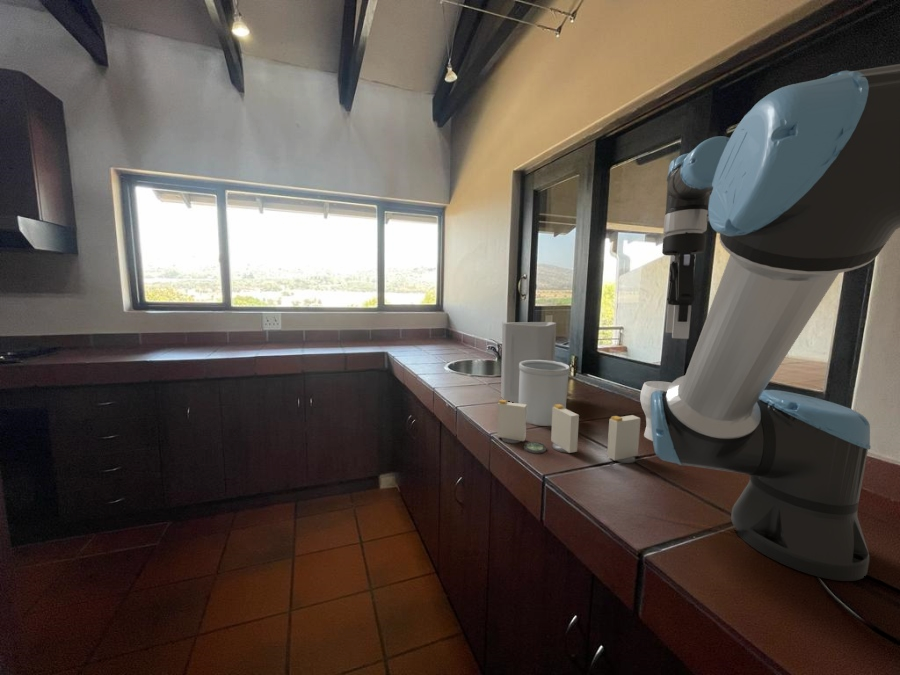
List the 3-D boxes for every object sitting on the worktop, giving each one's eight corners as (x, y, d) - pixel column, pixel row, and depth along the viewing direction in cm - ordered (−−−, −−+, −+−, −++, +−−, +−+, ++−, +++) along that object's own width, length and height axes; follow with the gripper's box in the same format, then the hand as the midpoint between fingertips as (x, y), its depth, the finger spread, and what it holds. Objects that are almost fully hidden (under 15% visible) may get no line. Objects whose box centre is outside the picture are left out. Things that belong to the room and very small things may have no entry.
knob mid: (564, 455, 81) (566, 414, 79) (546, 443, 87) (547, 405, 86) (582, 452, 83) (584, 411, 81) (563, 440, 89) (564, 402, 88)
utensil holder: (565, 414, 111) (568, 360, 109) (568, 432, 97) (571, 371, 95) (519, 410, 115) (520, 358, 113) (515, 426, 101) (517, 368, 99)
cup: (692, 451, 85) (697, 392, 83) (645, 447, 87) (649, 390, 85) (673, 434, 95) (678, 381, 93) (632, 431, 97) (635, 379, 95)
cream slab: (522, 445, 86) (524, 406, 85) (495, 440, 89) (496, 403, 88) (526, 437, 91) (527, 400, 90) (500, 433, 94) (501, 397, 92)
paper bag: (512, 409, 115) (515, 326, 111) (500, 396, 130) (501, 322, 126) (566, 407, 118) (570, 325, 114) (548, 394, 132) (551, 321, 129)
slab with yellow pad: (643, 460, 79) (646, 417, 77) (619, 465, 76) (622, 422, 75) (624, 450, 84) (627, 410, 82) (601, 455, 81) (604, 414, 80)
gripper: (720, 221, 60) (709, 342, 62) (696, 242, 82) (688, 331, 84) (669, 224, 63) (660, 340, 65) (659, 244, 85) (652, 330, 87)
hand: (676, 335), depth 75 cm, fingers open, 13 cm apart
